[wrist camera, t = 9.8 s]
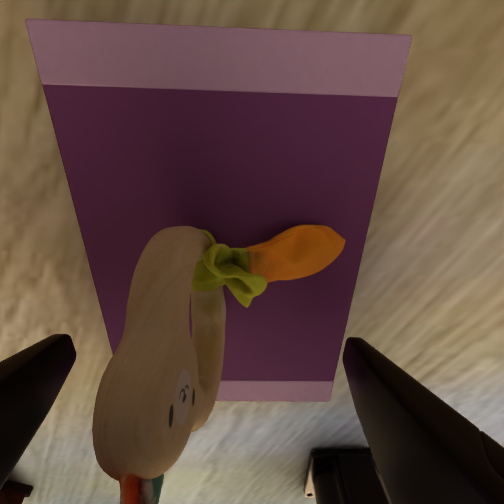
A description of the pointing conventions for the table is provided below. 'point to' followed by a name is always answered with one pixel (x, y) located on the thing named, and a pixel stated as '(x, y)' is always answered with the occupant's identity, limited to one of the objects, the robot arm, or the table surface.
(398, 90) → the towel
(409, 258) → the table surface
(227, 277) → the rattle
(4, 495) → the mate gourd
